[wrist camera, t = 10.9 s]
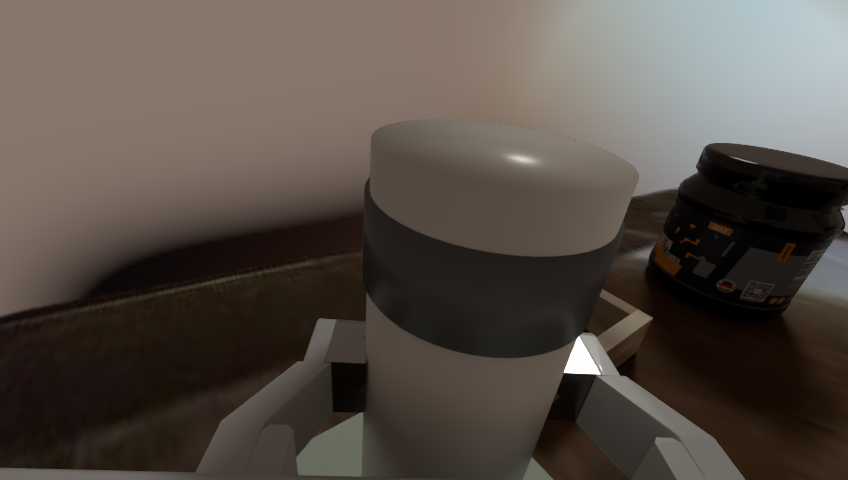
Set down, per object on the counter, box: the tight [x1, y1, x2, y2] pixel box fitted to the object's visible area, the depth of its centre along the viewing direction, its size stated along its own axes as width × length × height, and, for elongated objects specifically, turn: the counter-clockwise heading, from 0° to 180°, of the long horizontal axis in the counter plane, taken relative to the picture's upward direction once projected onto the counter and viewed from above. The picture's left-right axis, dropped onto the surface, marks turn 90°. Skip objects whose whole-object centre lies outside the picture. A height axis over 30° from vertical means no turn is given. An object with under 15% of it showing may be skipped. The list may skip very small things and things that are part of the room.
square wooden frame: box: [586, 289, 653, 368], centre depth 25 cm, size 9×9×3 cm
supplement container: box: [648, 143, 848, 320], centre depth 31 cm, size 10×10×12 cm
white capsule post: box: [361, 120, 639, 480], centre depth 11 cm, size 5×5×14 cm
